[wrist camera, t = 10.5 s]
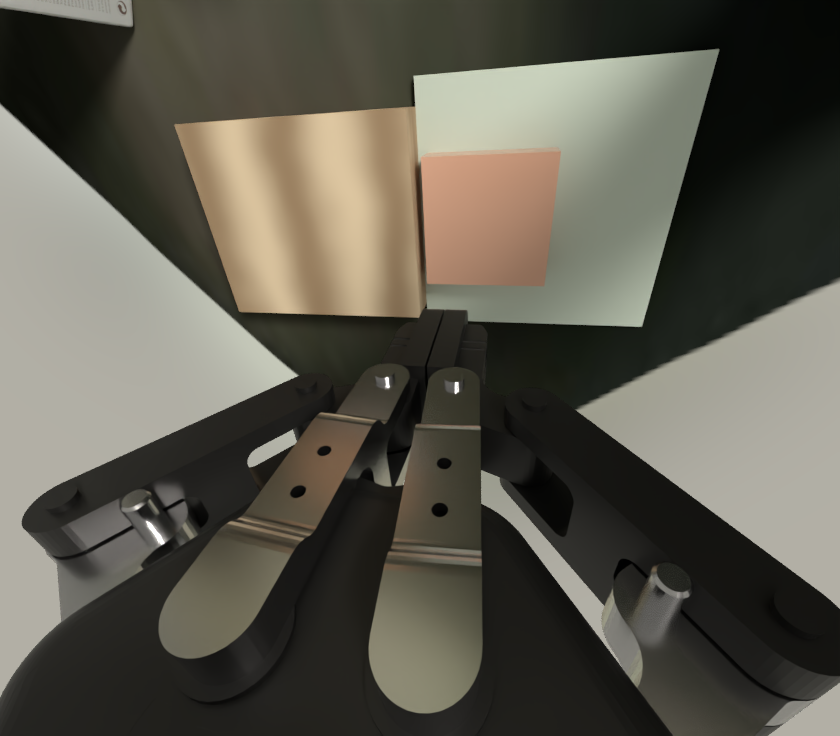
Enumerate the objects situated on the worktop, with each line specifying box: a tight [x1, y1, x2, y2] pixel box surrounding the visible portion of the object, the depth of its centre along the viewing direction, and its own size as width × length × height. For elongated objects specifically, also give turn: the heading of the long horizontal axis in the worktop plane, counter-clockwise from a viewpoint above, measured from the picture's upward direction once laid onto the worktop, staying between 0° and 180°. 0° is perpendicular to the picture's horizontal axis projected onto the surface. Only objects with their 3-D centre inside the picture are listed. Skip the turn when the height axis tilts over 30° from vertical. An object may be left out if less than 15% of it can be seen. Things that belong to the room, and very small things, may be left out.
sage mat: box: [414, 49, 719, 327], centre depth 26 cm, size 16×16×1 cm
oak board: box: [175, 107, 427, 318], centre depth 28 cm, size 15×13×3 cm
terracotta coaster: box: [421, 147, 561, 286], centre depth 26 cm, size 8×8×2 cm
